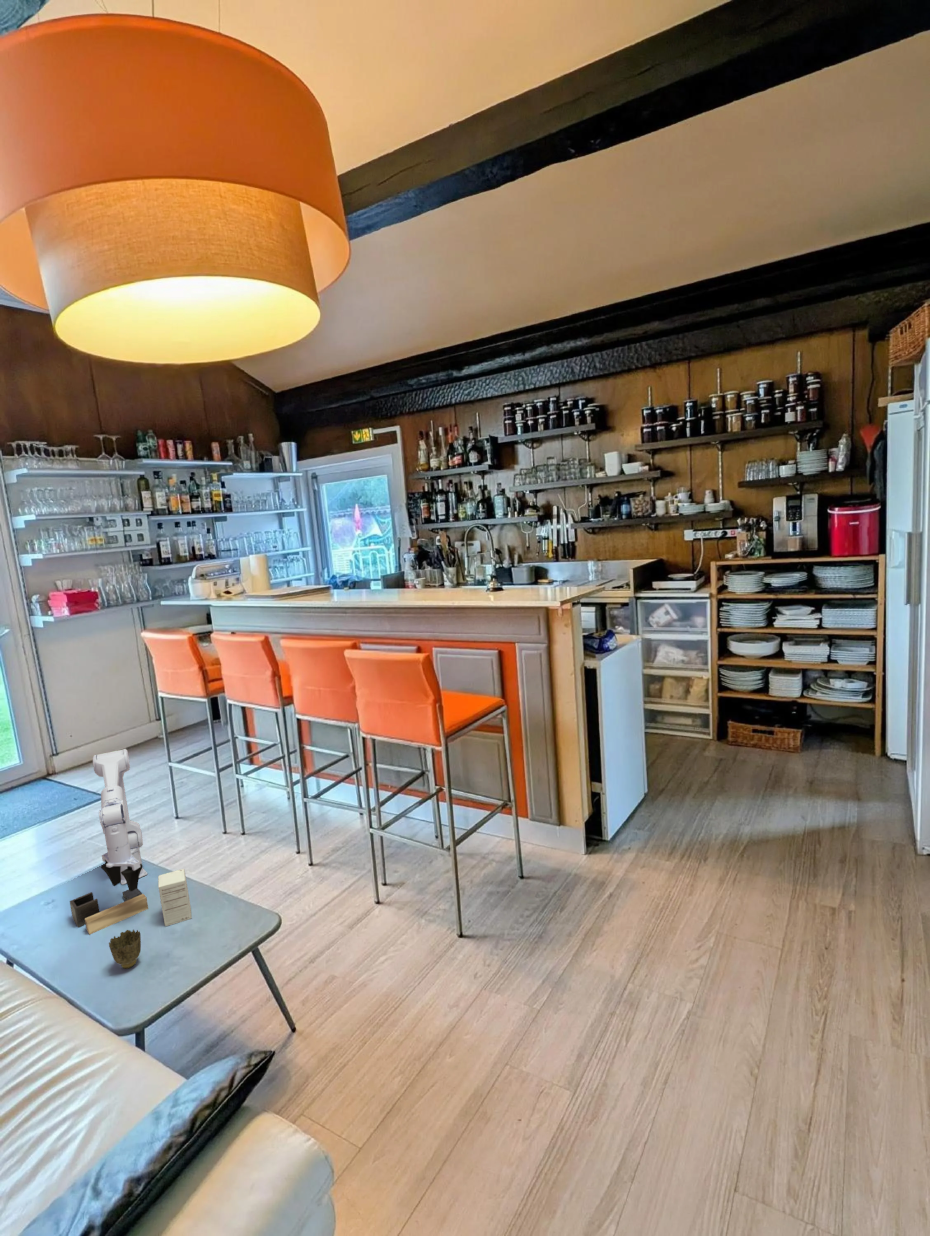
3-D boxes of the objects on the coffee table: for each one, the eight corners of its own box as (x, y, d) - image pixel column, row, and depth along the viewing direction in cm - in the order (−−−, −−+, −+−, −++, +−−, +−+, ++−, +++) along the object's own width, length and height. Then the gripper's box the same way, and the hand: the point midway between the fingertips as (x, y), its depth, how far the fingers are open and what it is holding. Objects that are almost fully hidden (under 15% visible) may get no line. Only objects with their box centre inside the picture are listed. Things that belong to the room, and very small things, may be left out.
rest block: (123, 898, 202) (122, 892, 202) (136, 892, 205) (135, 886, 204) (129, 905, 198) (128, 899, 197) (143, 899, 200) (142, 893, 200)
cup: (137, 952, 175) (132, 925, 174) (150, 962, 170) (145, 935, 169) (108, 968, 170) (103, 940, 168) (120, 979, 165) (115, 951, 164)
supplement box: (164, 913, 192) (157, 875, 190) (191, 906, 195) (185, 867, 193) (164, 927, 185) (157, 887, 183) (192, 919, 188) (185, 879, 186)
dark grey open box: (72, 919, 192) (69, 901, 191) (95, 910, 196) (91, 892, 195) (78, 927, 188) (74, 909, 187) (100, 918, 192) (97, 899, 191)
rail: (87, 931, 187) (84, 918, 186) (145, 905, 197) (143, 893, 197) (89, 935, 184) (87, 923, 184) (148, 909, 195) (146, 897, 195)
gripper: (89, 846, 188) (96, 889, 190) (121, 855, 181) (128, 899, 184) (111, 835, 194) (119, 876, 196) (143, 843, 187) (150, 886, 190)
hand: (125, 887), depth 190 cm, fingers open, 7 cm apart
